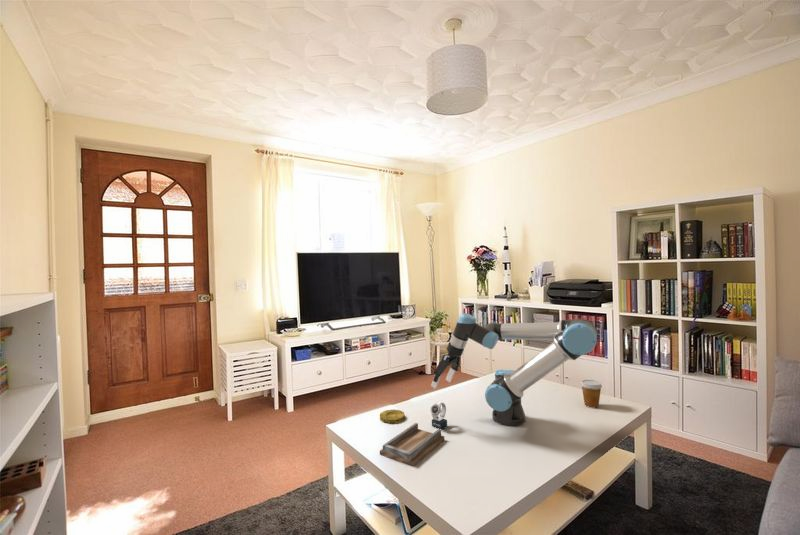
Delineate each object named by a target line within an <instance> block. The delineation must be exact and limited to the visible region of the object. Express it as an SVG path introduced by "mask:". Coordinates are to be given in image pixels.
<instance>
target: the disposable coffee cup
mask: <svg viewBox="0 0 800 535" xmlns="http://www.w3.org/2000/svg"><path fill="white" fill-rule="evenodd" d="M580 386H581V387H582V388H581V389H582V395H583V403H584V406H585V405H586V406H585V407H587V406H589V407H598V406H600V397H601V389H602V387H603V386H602V383H601V381H597V380H594V379H583V380H581V383H580ZM589 407H588V408H589ZM598 408H599V407H598Z"/></svg>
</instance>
